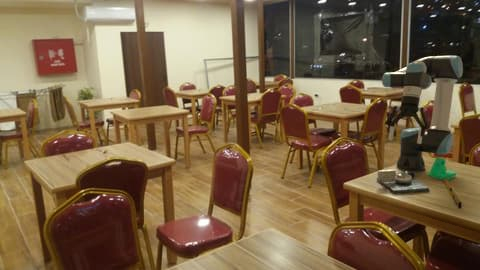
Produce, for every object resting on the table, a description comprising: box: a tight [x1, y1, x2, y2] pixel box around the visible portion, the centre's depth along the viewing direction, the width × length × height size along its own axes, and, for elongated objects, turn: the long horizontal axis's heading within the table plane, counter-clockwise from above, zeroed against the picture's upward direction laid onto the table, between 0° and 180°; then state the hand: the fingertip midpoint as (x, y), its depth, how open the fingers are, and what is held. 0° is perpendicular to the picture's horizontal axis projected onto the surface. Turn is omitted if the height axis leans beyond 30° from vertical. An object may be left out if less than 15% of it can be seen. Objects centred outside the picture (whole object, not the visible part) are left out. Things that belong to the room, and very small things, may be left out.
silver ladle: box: [377, 169, 412, 184], centre depth 199 cm, size 17×8×6 cm, turn 93°
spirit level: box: [442, 178, 463, 209], centre depth 185 cm, size 33×1×3 cm, turn 163°
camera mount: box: [428, 157, 457, 181], centre depth 209 cm, size 12×8×10 cm, turn 117°
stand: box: [376, 171, 431, 195], centre depth 199 cm, size 19×20×5 cm
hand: (404, 142), depth 181 cm, fingers open, 13 cm apart
